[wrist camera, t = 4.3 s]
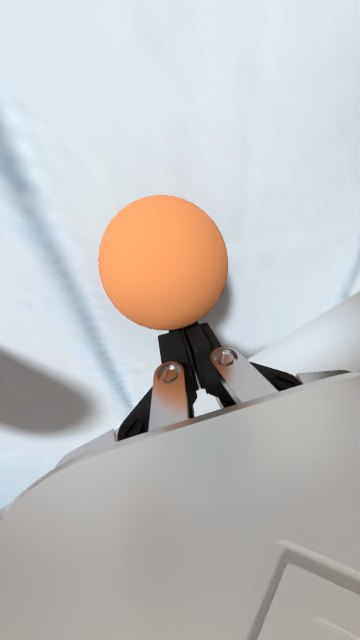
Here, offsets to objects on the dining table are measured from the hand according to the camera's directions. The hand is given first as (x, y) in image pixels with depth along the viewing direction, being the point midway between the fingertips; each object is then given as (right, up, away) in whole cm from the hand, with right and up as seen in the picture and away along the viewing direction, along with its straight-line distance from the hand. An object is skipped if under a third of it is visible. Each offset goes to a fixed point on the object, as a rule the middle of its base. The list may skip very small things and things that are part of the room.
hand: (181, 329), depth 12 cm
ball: (-1, +3, -3) cm, 5 cm away
